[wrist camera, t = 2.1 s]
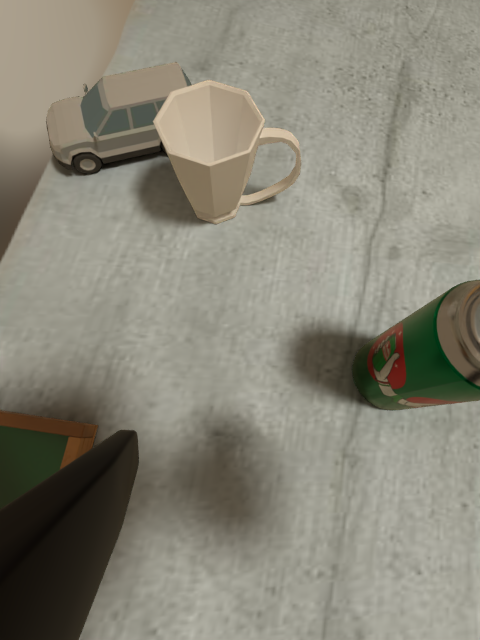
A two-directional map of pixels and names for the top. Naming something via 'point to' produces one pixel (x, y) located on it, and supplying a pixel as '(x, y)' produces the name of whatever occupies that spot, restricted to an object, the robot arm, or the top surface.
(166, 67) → the toy car
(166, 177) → the top surface
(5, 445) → the wooden divided tray
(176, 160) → the cup
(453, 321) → the soda can
